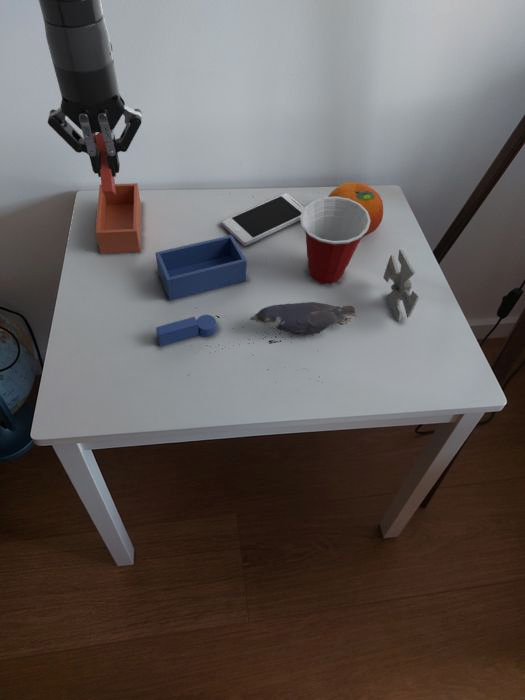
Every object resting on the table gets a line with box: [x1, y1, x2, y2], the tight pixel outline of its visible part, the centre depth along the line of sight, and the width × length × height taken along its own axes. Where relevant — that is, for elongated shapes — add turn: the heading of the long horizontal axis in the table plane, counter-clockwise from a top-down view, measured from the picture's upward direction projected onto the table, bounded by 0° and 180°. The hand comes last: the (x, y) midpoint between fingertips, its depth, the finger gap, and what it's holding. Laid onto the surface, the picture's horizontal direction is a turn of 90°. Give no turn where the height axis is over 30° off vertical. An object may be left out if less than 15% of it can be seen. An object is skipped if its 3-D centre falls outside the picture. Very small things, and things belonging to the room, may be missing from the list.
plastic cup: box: [300, 196, 371, 285], centre depth 83 cm, size 11×11×12 cm
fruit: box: [327, 181, 384, 238], centre depth 92 cm, size 11×10×8 cm
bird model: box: [249, 301, 358, 336], centre depth 78 cm, size 4×17×5 cm, turn 98°
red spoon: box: [96, 132, 116, 195], centre depth 78 cm, size 9×3×3 cm
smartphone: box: [221, 192, 305, 247], centre depth 95 cm, size 7×15×1 cm, turn 128°
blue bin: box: [155, 234, 247, 301], centre depth 84 cm, size 13×7×5 cm, turn 113°
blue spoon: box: [155, 314, 217, 347], centre depth 77 cm, size 9×3×3 cm, turn 113°
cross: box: [383, 248, 420, 322], centre depth 80 cm, size 10×3×10 cm, turn 13°
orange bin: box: [94, 182, 142, 254], centre depth 90 cm, size 13×7×5 cm, turn 8°
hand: (107, 173), depth 79 cm, fingers closed on red spoon, 1 cm apart
